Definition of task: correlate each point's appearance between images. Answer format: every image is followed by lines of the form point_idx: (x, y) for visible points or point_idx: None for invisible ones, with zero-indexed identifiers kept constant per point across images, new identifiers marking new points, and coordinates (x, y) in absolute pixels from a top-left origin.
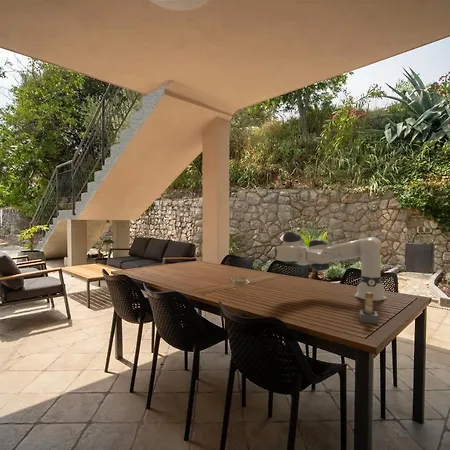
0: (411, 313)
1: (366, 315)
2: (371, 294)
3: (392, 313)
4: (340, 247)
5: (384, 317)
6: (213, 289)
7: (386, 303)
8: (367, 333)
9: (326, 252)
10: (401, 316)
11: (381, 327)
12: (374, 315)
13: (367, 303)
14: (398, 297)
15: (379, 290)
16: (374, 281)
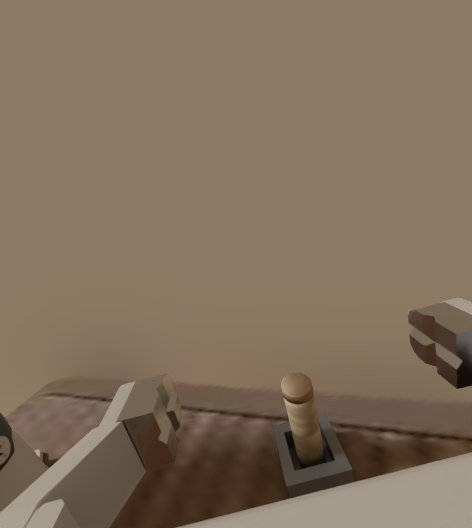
0: (184, 385)
1: (342, 449)
2: (305, 376)
3: (195, 418)
4: None
5: (244, 430)
6: None
7: None
8: (459, 447)
9: (89, 465)
10: (216, 397)
11: (351, 421)
12: (329, 422)
13: (317, 417)
14: (29, 427)
15: (25, 448)
16: (5, 436)
